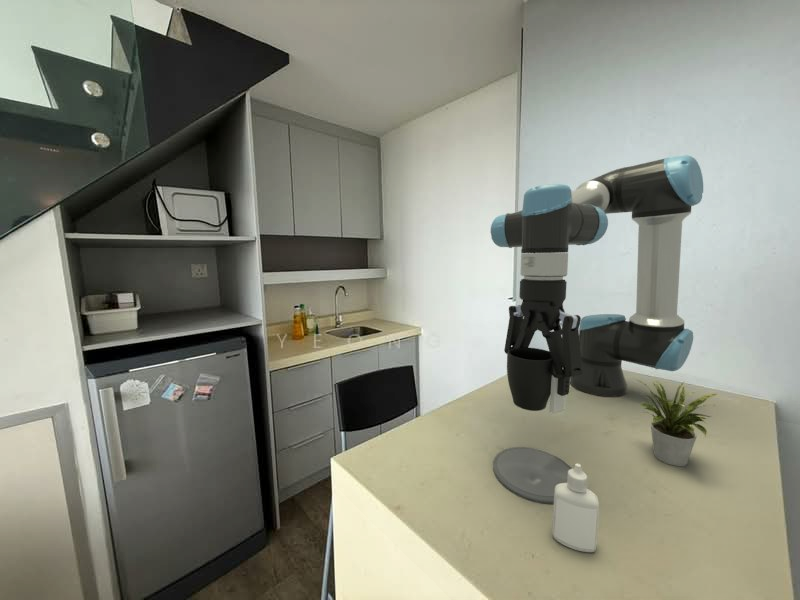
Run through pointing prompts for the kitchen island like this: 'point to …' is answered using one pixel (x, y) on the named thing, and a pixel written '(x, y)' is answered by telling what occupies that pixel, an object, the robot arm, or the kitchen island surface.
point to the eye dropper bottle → (575, 513)
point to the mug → (530, 377)
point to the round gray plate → (530, 473)
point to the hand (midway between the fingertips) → (537, 400)
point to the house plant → (674, 426)
